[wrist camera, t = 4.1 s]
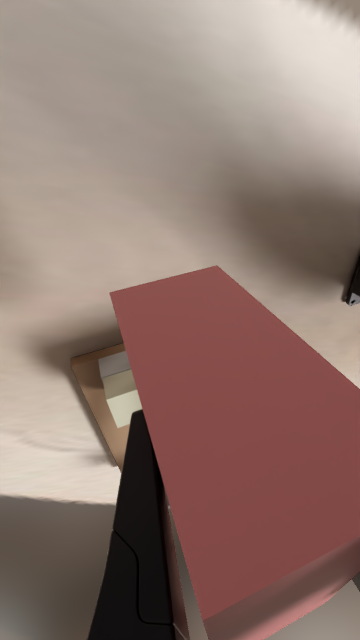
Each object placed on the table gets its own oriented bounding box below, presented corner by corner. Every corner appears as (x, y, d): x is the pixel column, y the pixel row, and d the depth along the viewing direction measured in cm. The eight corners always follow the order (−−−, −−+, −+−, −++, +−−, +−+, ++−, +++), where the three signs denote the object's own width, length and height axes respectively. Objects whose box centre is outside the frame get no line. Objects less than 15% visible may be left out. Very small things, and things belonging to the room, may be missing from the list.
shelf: (234, 310, 24) (275, 353, 19) (231, 423, 34) (258, 469, 29) (70, 358, 21) (72, 423, 16) (120, 466, 31) (130, 525, 26)
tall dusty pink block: (217, 265, 9) (463, 479, 3) (220, 413, 14) (325, 602, 8) (109, 292, 8) (202, 621, 3) (152, 439, 13) (217, 666, 7)
